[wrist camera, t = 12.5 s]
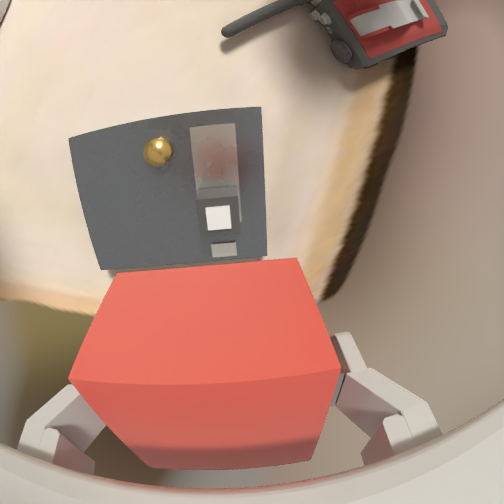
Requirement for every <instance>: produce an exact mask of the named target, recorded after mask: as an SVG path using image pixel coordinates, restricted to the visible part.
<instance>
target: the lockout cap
mask: <svg viewBox="0 0 504 504" xmlns="http://www.w3.org/2000/svg"><path fill="white" fill-rule="evenodd" d="M340 371H341V365H340V363H339V360H338V357H337V355H336V352H335V350H334V347H333V345H332V342H331V340H330V337H329V334H328V332H327V330H326V327H325V325H324V322H323V320H322V317H321V315H320V312H319V310H318V307H317V305H316V302H315V300H314V298H313V295H312V293H311V290H310V288H309V286H308V283H307V281H306V279H305V276H304V274H303V271H302V269H301V267H300V264H299V262H298V260H297V258H286V259H275V260H264V261H253V262H242V263H231V264H219V265H208V266H196V267H184V268H172V269H160V270H148V271H136V272H123V273H117V274H116V276H115V278H114V280H113V282H112V284H111V286H110V288H109V289H108V291H107V293H106V295H105V297H104V299H103V301H102V303H101V305H100V307H99V309H98V311H97V313H96V315H95V318H94V320H93V322H92V324H91V326H90V328H89V330H88V333H87V335H86V337H85V339H84V342H83V344H82V346H81V348H80V351H79V353H78V356H77V358H76V360H75V362H74V365H73V367H72V370H71V372H70V375H69V377H68V379H69V380H70V382H71V383H72V384H73V386H74V387H75V388H76V390H77V391H78V392H79V393H80V395H81V396H82V397H83V398H84V400H85V401H86V402H87V403H88V404H89V406H90V407H91V408H92V409H93V410H94V412H95V413H96V414H97V415H98V416H99V417H100V418H101V420H102V421H103V422H104V423H105V424H106V425H107V426H108V427H109V428H110V429H111V430H112V431H113V433H114V434H115V435H116V436H117V437H118V438H119V439H120V440H121V441H122V442H123V443H124V444H125V445H127V447H128V448H130V450H132V451H133V452H134V453H135V454H136V455H137V456H138V457H139V458H140V459H141V460H142V461H144V462H145V463H146V464H147V465H148V466H149V467H152V468H163V469H180V470H229V469H246V468H258V467H268V466H277V465H284V464H291V463H297V462H303V461H308V460H311V458H312V455H313V453H314V450H315V448H316V445H317V442H318V439H319V437H320V434H321V431H322V428H323V425H324V423H325V420H326V416H327V414H328V410H329V407H330V404H331V401H332V398H333V395H334V391H335V388H336V385H337V381H338V378H339V374H340Z"/></svg>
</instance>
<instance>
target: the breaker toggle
mask: <svg viewBox="0 0 504 504" xmlns="http://www.w3.org/2000/svg"><path fill="white" fill-rule="evenodd" d="M196 208H197V215H198V222H199V229H200V236H201V238H207V237H218V236H229V235H240V234H241V230H240V217H239V203H238V193H237V186H228V187H217V188H207V189H199V190H198V193H197V197H196Z"/></svg>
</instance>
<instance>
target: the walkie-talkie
mask: <svg viewBox="0 0 504 504" xmlns="http://www.w3.org/2000/svg"><path fill="white" fill-rule="evenodd" d="M308 2H311V3H312V5H313V6H314V7H315V8H314V10H313V11H312V12H311V13H309V15H310V17H311V19H312V20H314V21H316V20H319V21H320V22H321V23H322V25H323V26H324V27H325V29H326V30H327V32H328V33H329V35H330V36H331V38H332V39H333V42H332V43H331V49H332V52H333V54H334V55H335V57H336V58H337V59H338V60H339V61H341V62H343V63H348V64H349V66H350V68H354V69H358V68H370V67H372V66H374V65H376V64H378V62H380V61H382V60H387V59H390V58H392V57H395V55H396V54H398V53H401V52H403V51H406V50H407V49H410V48H413V47H415V46H418V45H421V44H423V43H426V42H429V41H432V40H434V39H437V38H440V37H443V36H446V33H447V29H448V26H447V23H446V21H445V19H444V17H443V15H442V13H441V12H440V10H439V8H438V6H437V5H436V3H435V1H434V0H278V1H275V2H273V3H271V4H269V5H266V6H264V7H262V8H260V9H258V10H256V11H254V12H251V13H249V14H247V15H245V16H243V17H242V18H240V19H238V20H236V21H234V22H232V23H230V24H228V25H227V26H225V27H223V28H222V30H221V33H222V35H223V36H224V37H227V38H229V37H232V36H234V35H236V34H238V33H239V32H241V31H243V30H245V29H247V28H249V27H251V26H253V25H255V24H257V23H259V22H261V21H263V20H265V19H267V18H269V17H271V16H273V15H276V14H278V13H280V12H282V11H285V10H287V9H289V8H292V7H294V6H297V5H303V4H306V3H308Z"/></svg>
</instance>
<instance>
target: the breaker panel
mask: <svg viewBox="0 0 504 504" xmlns="http://www.w3.org/2000/svg"><path fill="white" fill-rule="evenodd" d="M69 145H70V151H71V157H72V162H73V168H74V173H75V178H76V183H77V187H78V192H79V196H80V200H81V204H82V208H83V212H84V216H85V220H86V224H87V227H88V231H89V234H90V238H91V241H92V244H93V248H94V251H95V254H96V257H97V260H98V263H99V266H100V269H101V270H108V269H120V268H132V267H144V266H156V265H168V264H180V263H191V262H203V261H214V260H226V259H237V258H249V257H260V256H267V234H266V205H265V180H264V156H263V135H262V114H261V107H246V108H231V109H219V110H209V111H200V112H191V113H184V114H177V115H170V116H164V117H158V118H152V119H146V120H141V121H136V122H131V123H126V124H122V125H117V126H113V127H109V128H105V129H101V130H97V131H93V132H89V133H85V134H82V135H78V136H75V137H71V138H69ZM228 186H237V193H238V203H239V217H240V230H241V234H240V235H229V236H218V237H207V238H201V236H200V229H199V222H198V215H197V208H196V197H197V193H198V190H199V189H207V188H217V187H228Z"/></svg>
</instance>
